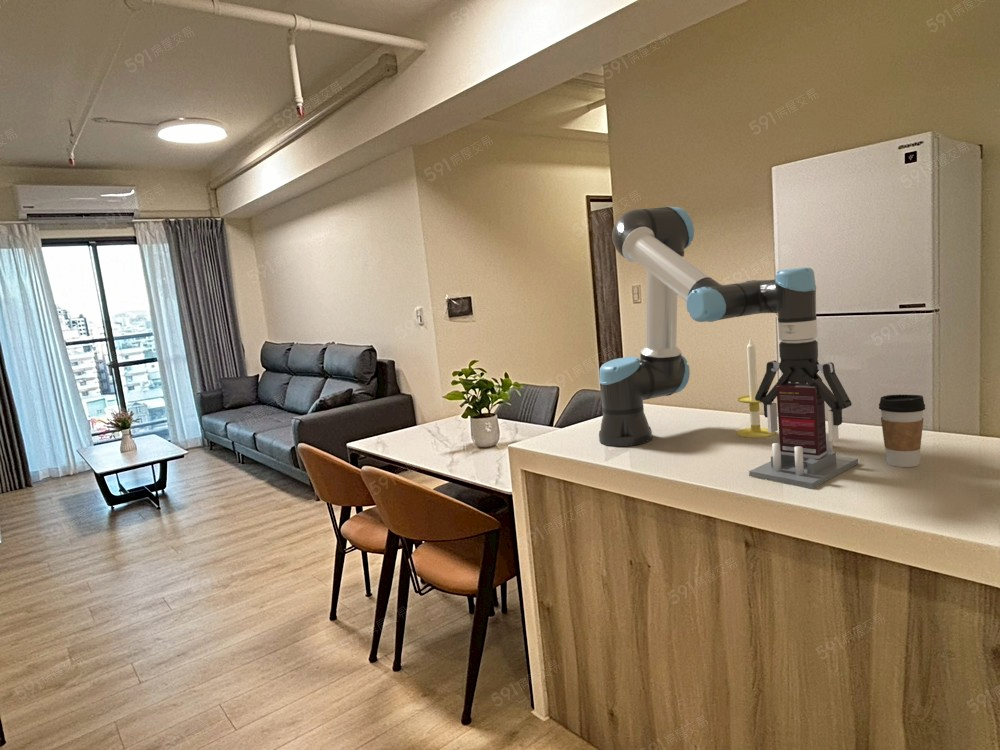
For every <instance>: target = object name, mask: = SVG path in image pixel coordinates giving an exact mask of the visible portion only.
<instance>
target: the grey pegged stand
mask: <svg viewBox="0 0 1000 750" xmlns="http://www.w3.org/2000/svg"><path fill="white" fill-rule="evenodd" d="M826 445H827V454H826V455H824V456H823V457H822V458H820V459H814V458H805V457H803V447H801V446H796V447H794V451H795V456H788V455H781V451H780V442H774V443H772V444H771V449H772V455H771V456H770V461H769V462H766V463H764V464H761V465H760V466H758V467H755V468H753V469H751V470H748V471H749V472H748V473H749V474H748V475H749V477H750V476H751V477H752V478H755V477H756V479H760V478H761V480H765V479H767V480H766V481H770V480H772V482H775V481H776V483H782V484H784V485H785V484H786V485H791V486H796V487H800V488H805V489H812V490H813V489H815V488H817V487H819V486H820V485H822V484H824V483H825V482H828V481H829V480H831V479H833V478H835V477H836V476H838V475H840V474H842V473H843V472H845V471H847V470H849V469H851V468H853V467H854V466H855V467H856V465H858V464H859V459H858V458H857V457H851V456H850V457H849V456H845V455H837V452H836V451H834V450H833V449H834V447H833V441H829V434H828V432H826ZM751 477H750V478H751Z"/></svg>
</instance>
